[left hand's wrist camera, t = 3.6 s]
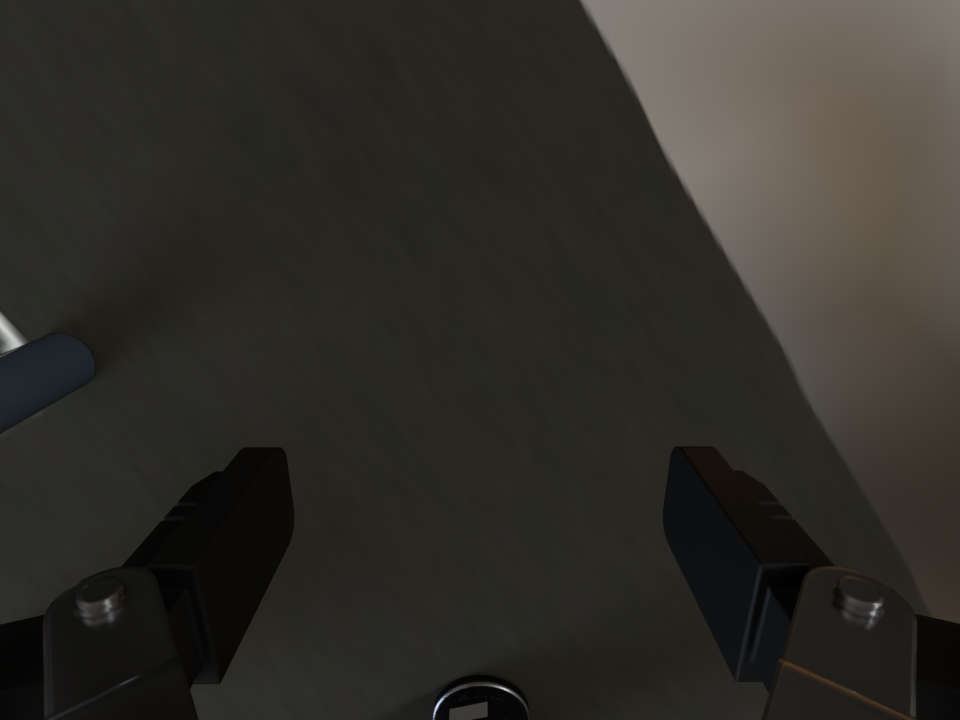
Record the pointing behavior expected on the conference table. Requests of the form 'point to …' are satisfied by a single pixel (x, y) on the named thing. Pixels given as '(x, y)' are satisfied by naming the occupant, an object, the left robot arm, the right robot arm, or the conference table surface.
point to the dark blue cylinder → (41, 376)
